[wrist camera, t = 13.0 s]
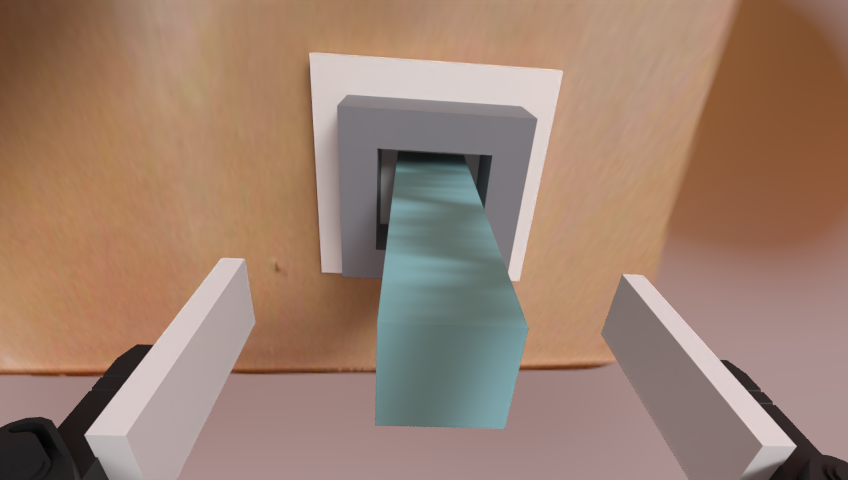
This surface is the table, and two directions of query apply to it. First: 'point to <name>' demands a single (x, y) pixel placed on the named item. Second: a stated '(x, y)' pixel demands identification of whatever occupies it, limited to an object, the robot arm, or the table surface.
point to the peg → (444, 304)
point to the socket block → (424, 145)
